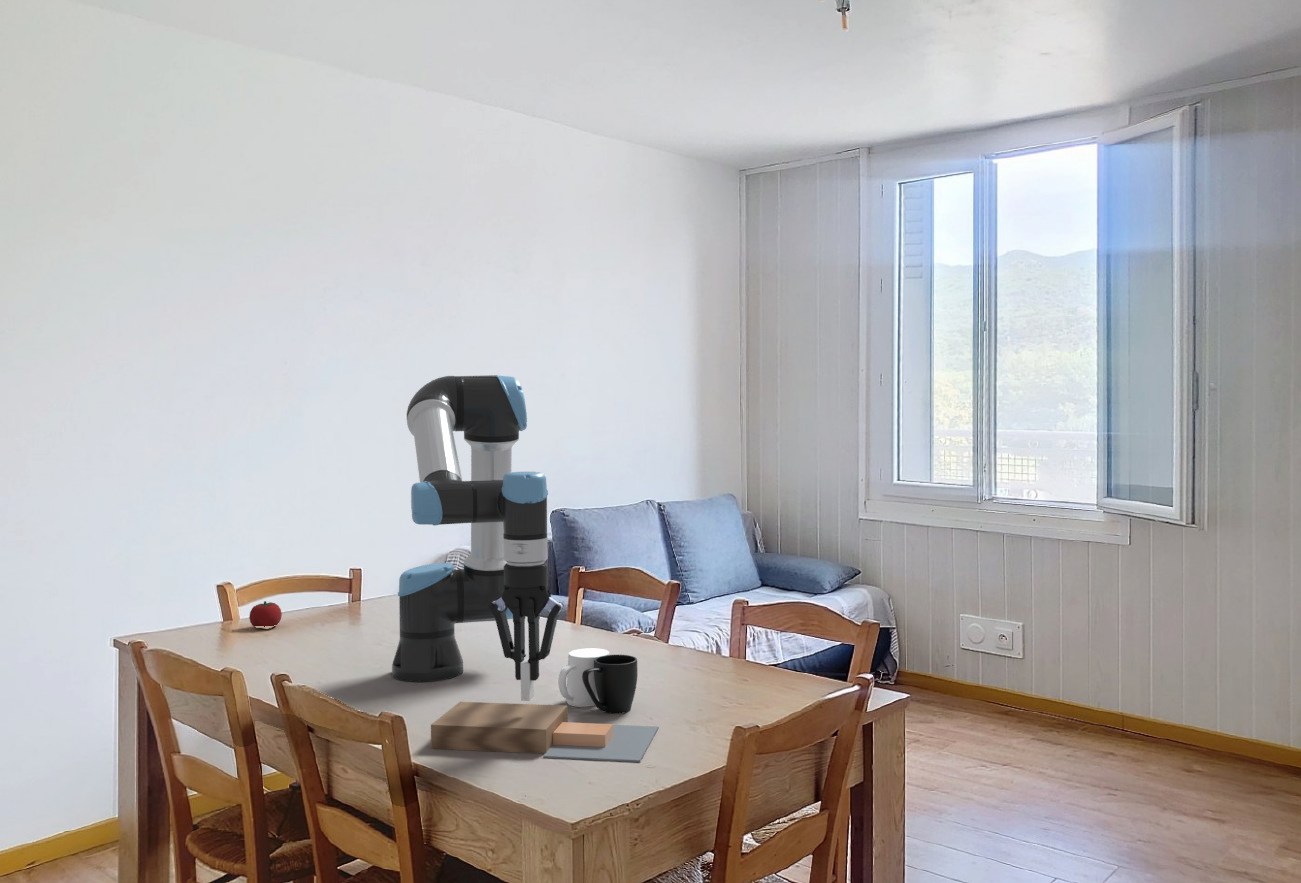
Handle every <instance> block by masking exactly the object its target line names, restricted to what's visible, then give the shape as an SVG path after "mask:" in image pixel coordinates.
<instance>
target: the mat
mask: <svg viewBox="0 0 1301 883" xmlns="http://www.w3.org/2000/svg"><path fill="white" fill-rule="evenodd" d="M659 729H660V728H659V726H655V725H654V726H651V725H632V724H631V725H629V724H613V737H612V738H611V740H610V741H609V742H608V744H607V745H606V747H597V746H575V745H554V744H553V745H552V746H551V747H550V748H549V750H548V751H547V752H546V753H545V754H543V756H542V758H543V759H544V758H545V759H561V760H562V759H563V760H565V759H566V760H584V761H585V760H586V761H587V760H588V761H609V762H628V763H629V762H630V763H631V762H633V763H641V761H642V760H643V757H644V756H645V754H646V752H647V750H648V749H649V746H650V745H651V743H652V741H653V739H654V737H655V736H656V734H657V732H658V730H659Z"/></svg>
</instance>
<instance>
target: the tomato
mask: <svg viewBox="0 0 1301 883" xmlns="http://www.w3.org/2000/svg"><path fill="white" fill-rule="evenodd" d="M282 616H283V614H282V609H281V607H280V606H279V605H278V604H276V603H275V602H267V601H263V603H258V604H255V605H254V606H253V607H252V608H251V610H250V612H249V617H248V618H249V623H250V624H251V625H252V627H254V626H264V627H265V626H274V625H277V624H278V623H279V624H280V621H281V620H282ZM279 624H278V625H279ZM278 625H277V626H278Z"/></svg>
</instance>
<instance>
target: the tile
mask: <svg viewBox="0 0 1301 883" xmlns="http://www.w3.org/2000/svg"><path fill="white" fill-rule="evenodd" d="M613 725H614V724H613V723H591V722H569V721H568V722H562V723H561V724H560V725H559V726H558V728H557V729H556V730H555V731H554V732H553V744H554V745H575V746H597V747H606V745H607V744H608V742H609V741H610V740H611V738H612V737H613Z"/></svg>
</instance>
